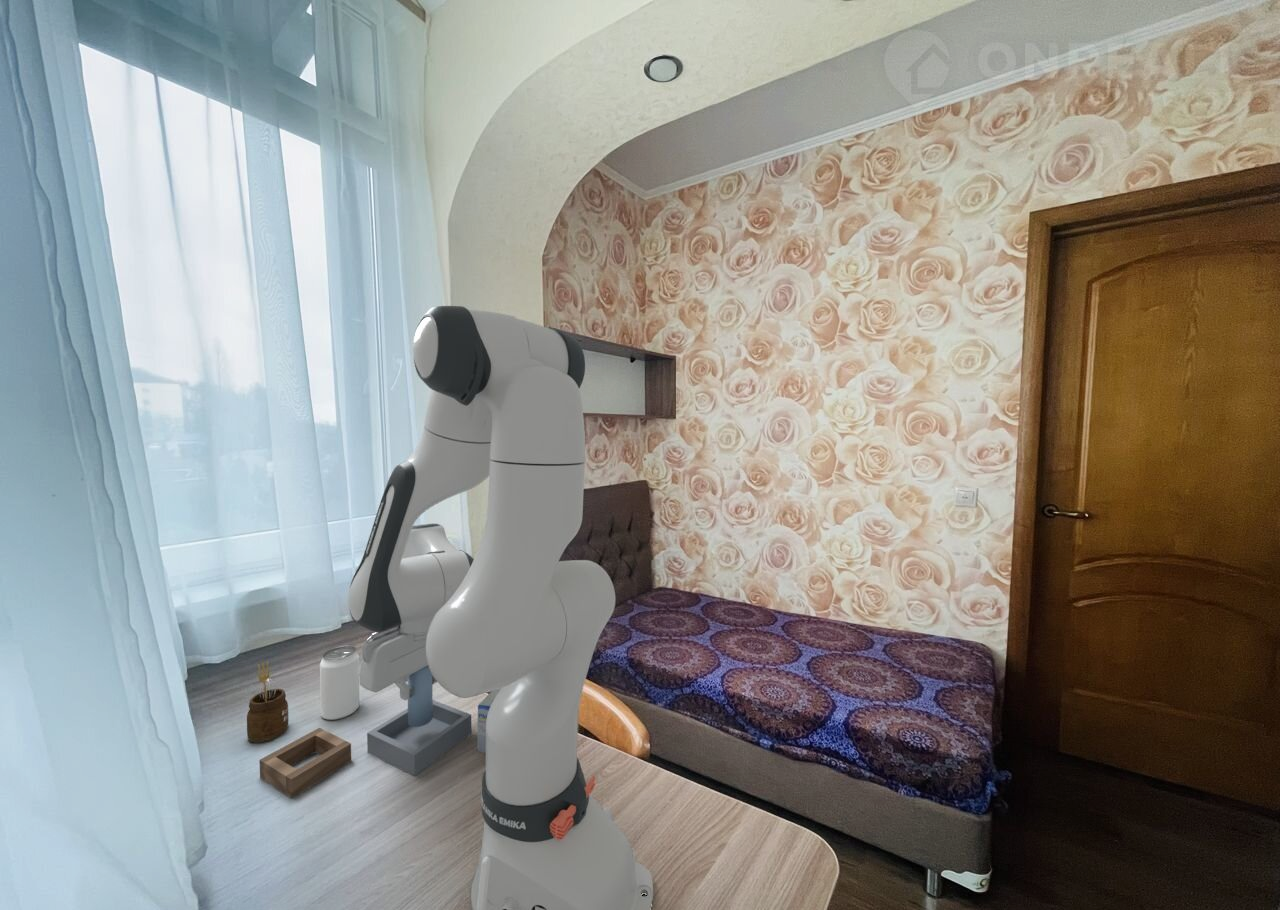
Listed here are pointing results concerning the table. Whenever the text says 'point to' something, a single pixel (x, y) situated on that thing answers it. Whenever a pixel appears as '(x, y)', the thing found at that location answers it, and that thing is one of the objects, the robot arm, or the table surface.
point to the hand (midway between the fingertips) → (420, 689)
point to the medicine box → (484, 719)
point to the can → (339, 682)
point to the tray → (418, 738)
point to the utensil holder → (267, 712)
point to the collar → (295, 781)
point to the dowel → (420, 698)
